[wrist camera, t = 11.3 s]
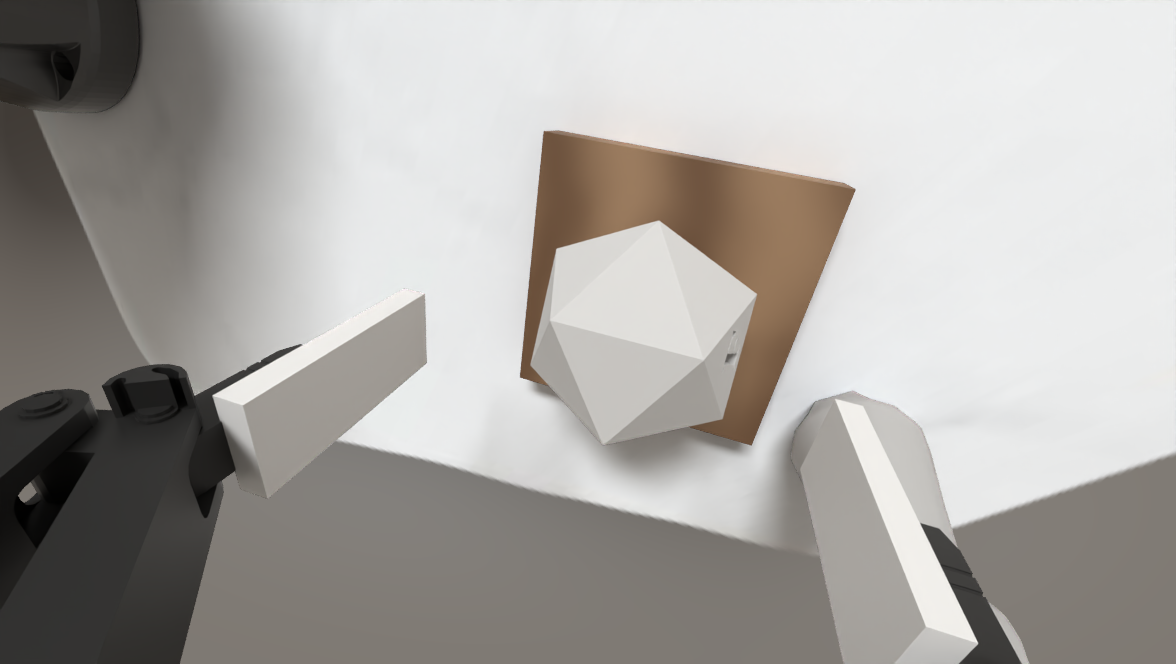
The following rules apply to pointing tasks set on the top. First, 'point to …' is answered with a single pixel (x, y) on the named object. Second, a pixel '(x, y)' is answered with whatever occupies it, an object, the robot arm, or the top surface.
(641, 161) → the walnut board
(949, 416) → the top surface
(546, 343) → the die
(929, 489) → the salt shaker
